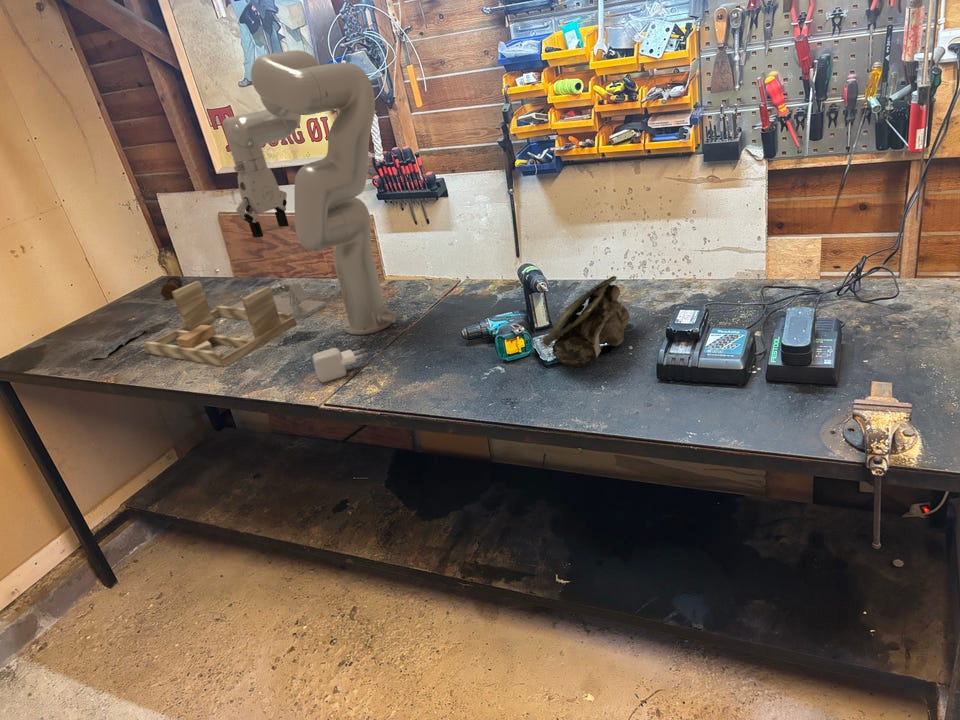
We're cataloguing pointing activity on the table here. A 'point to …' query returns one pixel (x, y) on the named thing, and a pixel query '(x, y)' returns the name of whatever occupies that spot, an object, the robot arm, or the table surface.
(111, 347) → the driftwood
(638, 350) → the table surface
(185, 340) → the offcut top
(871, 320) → the table surface
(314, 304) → the plate
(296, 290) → the bracket
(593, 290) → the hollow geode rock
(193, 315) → the rack
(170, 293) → the brown lumpy piece
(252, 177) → the robot arm
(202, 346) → the offcut bottom
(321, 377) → the power adapter
